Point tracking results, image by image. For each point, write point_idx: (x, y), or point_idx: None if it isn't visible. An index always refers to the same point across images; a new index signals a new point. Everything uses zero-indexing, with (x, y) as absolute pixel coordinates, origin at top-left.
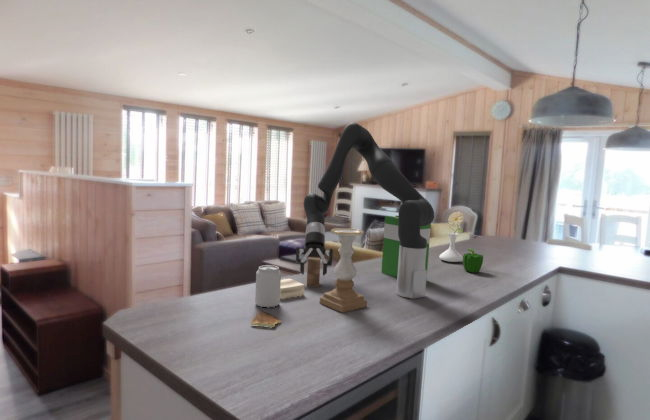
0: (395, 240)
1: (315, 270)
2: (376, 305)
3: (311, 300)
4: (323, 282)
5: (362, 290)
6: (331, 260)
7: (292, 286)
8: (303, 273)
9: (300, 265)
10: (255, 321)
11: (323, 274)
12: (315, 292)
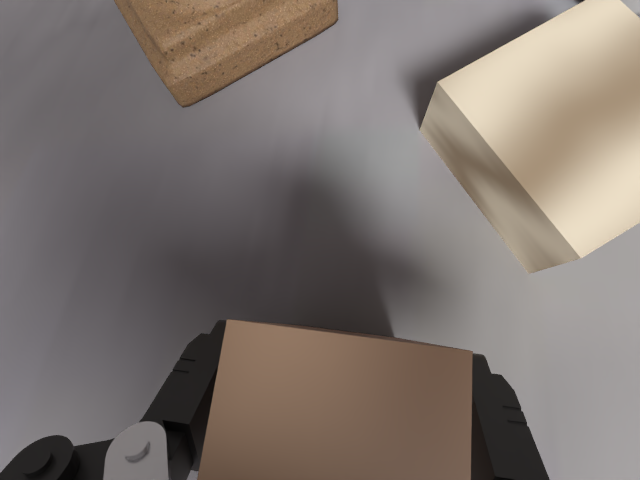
0: None
1: (323, 329)
2: (63, 10)
3: (379, 53)
4: None
5: (19, 247)
6: (13, 474)
7: (530, 36)
8: None
9: (539, 456)
10: None
11: None
12: (341, 192)
